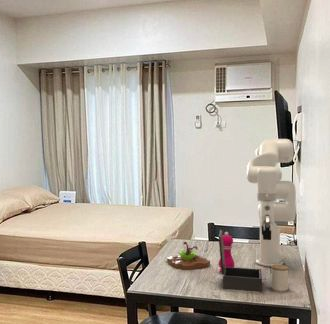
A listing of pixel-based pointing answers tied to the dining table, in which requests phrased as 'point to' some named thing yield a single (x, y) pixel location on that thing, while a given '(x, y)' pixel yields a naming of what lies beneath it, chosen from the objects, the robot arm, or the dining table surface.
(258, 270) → the dark grey open box
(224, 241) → the pepper mill
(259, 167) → the robot arm
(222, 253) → the lid
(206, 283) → the dining table surface
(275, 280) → the canister
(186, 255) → the plant
